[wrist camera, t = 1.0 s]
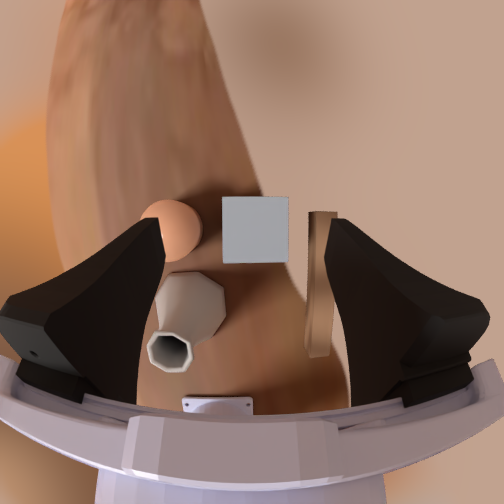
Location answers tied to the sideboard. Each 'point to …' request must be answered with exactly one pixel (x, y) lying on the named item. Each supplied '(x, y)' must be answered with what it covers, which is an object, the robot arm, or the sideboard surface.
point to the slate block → (255, 229)
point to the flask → (185, 319)
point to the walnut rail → (318, 288)
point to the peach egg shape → (176, 227)
